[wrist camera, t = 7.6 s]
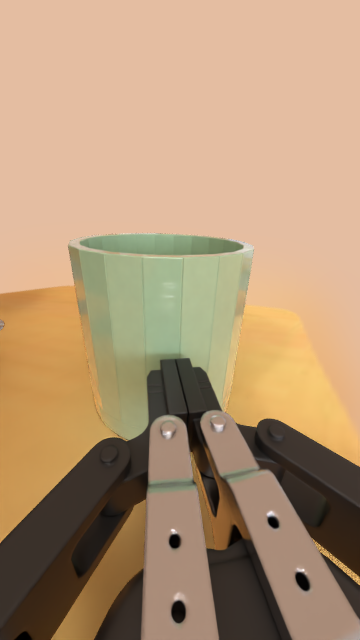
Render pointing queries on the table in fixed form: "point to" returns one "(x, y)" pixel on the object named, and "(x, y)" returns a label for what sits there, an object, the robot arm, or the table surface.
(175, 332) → the tumbler
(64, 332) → the table surface
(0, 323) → the wine glass
